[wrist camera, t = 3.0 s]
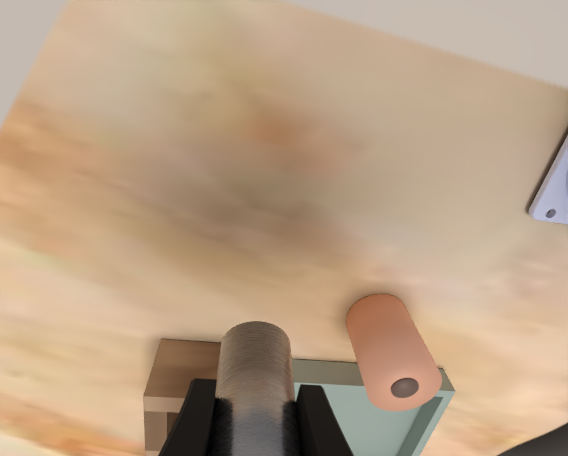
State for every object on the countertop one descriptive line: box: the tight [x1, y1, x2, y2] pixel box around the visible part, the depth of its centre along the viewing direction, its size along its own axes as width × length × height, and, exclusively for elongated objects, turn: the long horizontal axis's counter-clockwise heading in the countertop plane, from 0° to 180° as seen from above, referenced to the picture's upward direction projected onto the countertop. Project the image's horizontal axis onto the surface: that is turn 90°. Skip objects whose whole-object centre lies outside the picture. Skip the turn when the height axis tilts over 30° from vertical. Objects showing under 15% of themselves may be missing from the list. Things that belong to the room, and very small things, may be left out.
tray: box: [292, 359, 455, 456], centre depth 26 cm, size 12×11×2 cm
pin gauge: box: [207, 321, 301, 456], centre depth 10 cm, size 2×2×7 cm
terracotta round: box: [346, 294, 442, 411], centre depth 20 cm, size 4×4×5 cm
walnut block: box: [143, 339, 221, 456], centre depth 22 cm, size 6×6×4 cm
